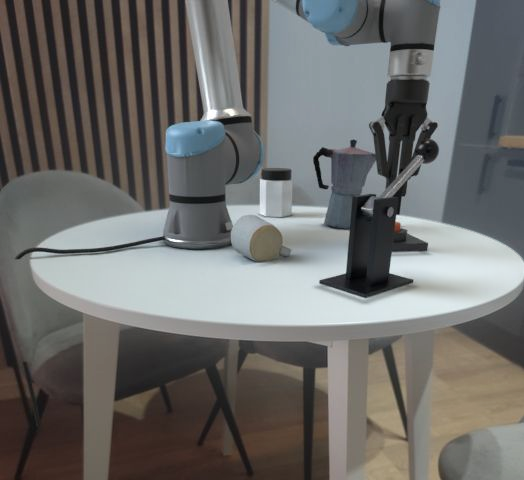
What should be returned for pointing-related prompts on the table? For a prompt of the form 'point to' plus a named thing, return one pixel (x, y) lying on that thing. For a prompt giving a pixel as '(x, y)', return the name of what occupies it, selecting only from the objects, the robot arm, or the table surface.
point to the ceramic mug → (257, 239)
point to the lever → (405, 173)
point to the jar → (276, 192)
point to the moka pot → (344, 180)
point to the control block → (407, 242)
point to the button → (397, 227)
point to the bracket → (369, 250)
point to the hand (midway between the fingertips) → (393, 213)
